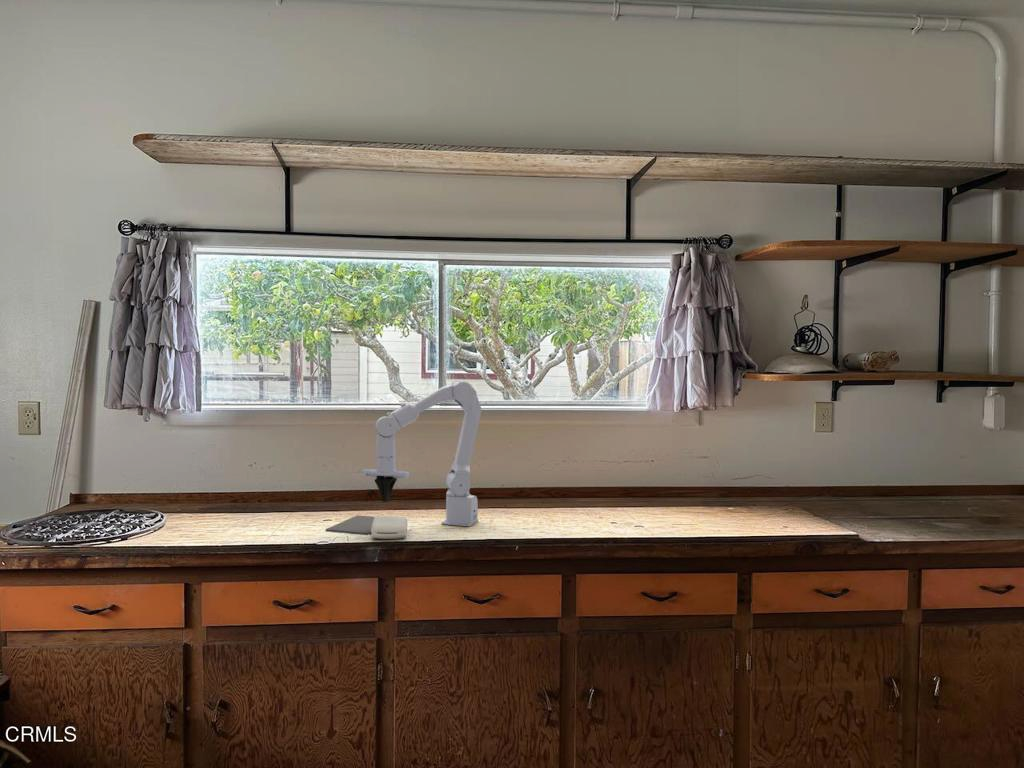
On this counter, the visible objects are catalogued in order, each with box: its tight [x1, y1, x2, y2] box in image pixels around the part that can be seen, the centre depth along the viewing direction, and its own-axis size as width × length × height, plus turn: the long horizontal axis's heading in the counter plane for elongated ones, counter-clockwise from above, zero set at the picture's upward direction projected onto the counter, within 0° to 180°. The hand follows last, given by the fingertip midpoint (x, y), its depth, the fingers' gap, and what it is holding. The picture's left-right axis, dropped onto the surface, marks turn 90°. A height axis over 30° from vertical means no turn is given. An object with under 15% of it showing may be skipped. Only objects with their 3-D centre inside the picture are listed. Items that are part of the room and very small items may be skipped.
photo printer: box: [370, 515, 408, 540], centre depth 182 cm, size 10×4×12 cm
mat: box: [325, 514, 375, 536], centre depth 193 cm, size 14×18×1 cm
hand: (385, 501), depth 190 cm, fingers closed
